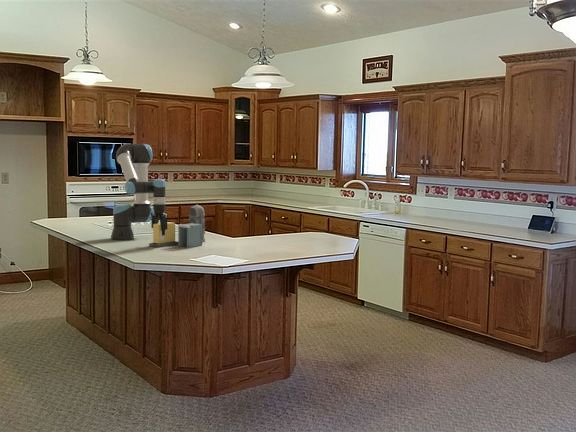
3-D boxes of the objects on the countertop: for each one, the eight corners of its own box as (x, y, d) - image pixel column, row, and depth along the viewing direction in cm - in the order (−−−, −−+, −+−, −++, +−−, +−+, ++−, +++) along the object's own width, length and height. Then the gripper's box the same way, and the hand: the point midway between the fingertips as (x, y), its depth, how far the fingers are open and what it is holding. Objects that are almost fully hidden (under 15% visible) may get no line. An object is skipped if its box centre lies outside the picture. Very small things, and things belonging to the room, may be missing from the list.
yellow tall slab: (153, 242, 385) (153, 223, 384) (170, 240, 396) (169, 222, 395) (158, 243, 382) (158, 224, 381) (175, 241, 393) (175, 222, 392)
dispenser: (178, 246, 387) (178, 224, 386) (192, 244, 397) (192, 222, 395) (188, 247, 382) (188, 225, 380) (202, 245, 391) (202, 224, 390)
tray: (149, 246, 385) (149, 243, 385) (170, 243, 399) (170, 240, 399) (158, 247, 380) (158, 244, 380) (179, 244, 394) (179, 241, 394)
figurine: (198, 243, 401) (198, 205, 398) (185, 240, 411) (185, 204, 408) (209, 241, 408) (209, 204, 405) (196, 239, 418) (196, 203, 415)
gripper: (145, 203, 386) (145, 239, 388) (164, 204, 375) (164, 242, 377) (154, 202, 392) (154, 237, 394) (173, 204, 381) (173, 240, 383)
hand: (159, 239), depth 386 cm, fingers closed on yellow tall slab, 5 cm apart
